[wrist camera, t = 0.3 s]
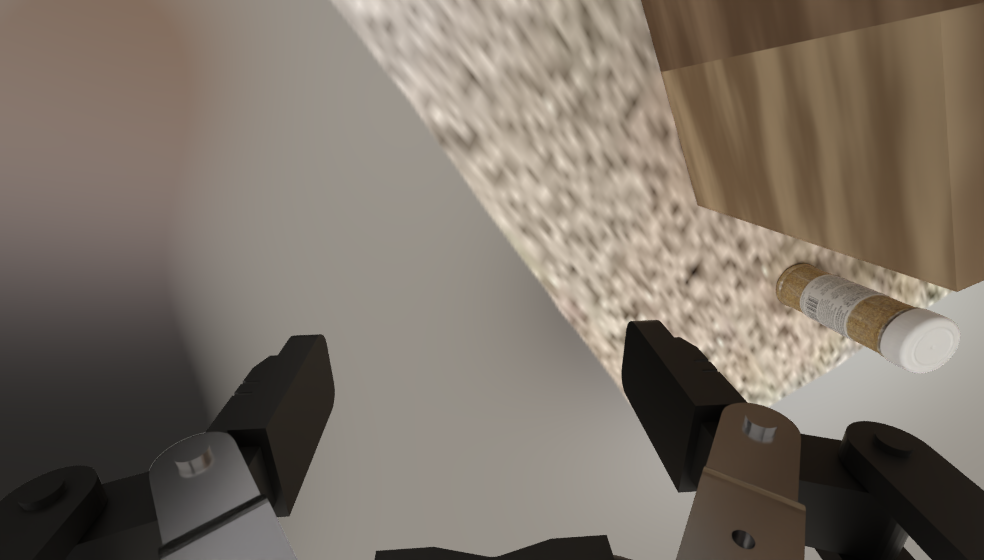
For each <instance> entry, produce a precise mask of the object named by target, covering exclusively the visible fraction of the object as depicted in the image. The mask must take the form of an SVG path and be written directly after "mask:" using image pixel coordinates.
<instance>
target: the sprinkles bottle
mask: <svg viewBox="0 0 984 560" xmlns="http://www.w3.org/2000/svg"><path fill="white" fill-rule="evenodd" d="M776 293H777V297H778V299H779V300H780V301H781V302H782V303H783V304H784V305H786V306H789V307H793V308H795V309H796V310H798V311H800V312H802V313H804V314H805V315H806V316H808V317H809V318H811V319H813V320H815V321H817V322H819V323H821V324H822V325H824V326H826V327H828V328H830V329H832V330H834V331H835V332H837V333H839V334H841V335H843V336H845V337H847V338H849V339H851V340H853V341H856V342H858V343H860V344H862V345H864V346H866V347H868V348H870V349H872V350H874V351H876V352H878V353H879V354H880V355H881V356H883V357H884V358H885V359H886V360H888V361H889V362H891V363H893V364H895V365H897V366H899V367H901V368H903V369H905V370H907V371H909V372H912V373H926V372H930V371H933V370H935V369H937V368H939V367H941V366H942V365H943V364H945V363H946V362H947V361H948V360H949V359H950V358H951V357H952V356H953V354H954V353H955V351H956V349H957V347H958V345H959V342H960V330H959V328H958V326H957V324H956V323H955V322H954V321H952V320H951V319H949V318H947V317H944V316H942V315H940V314H937V313H935V312H932V311H930V310H927V309H921V308H917V307H913V306H910V305H907V304H905V303H902V302H900V301H897V300H895V299H893V298H890V297H889V296H887V295H884V294H882V293H879V292H877V291H874V290H872V289H869V288H867V287H864V286H862V285H859V284H857V283H854V282H851V281H849V280H846V279H844V278H841V277H839V276H836V275H832V274H829V273H826V272H824V271H821V270H819V269H817V268H816V267H814V266H812V265H809V264H798V265H795V266H792V267H790V268H789V269H787V270H786V271H785V272H784V273H783V274H782V276H781V277H780V279H779V280H778V282H777V286H776Z"/></svg>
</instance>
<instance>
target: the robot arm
mask: <svg viewBox="0 0 984 560" xmlns="http://www.w3.org/2000/svg"><path fill="white" fill-rule="evenodd" d="M622 384H623V388H624V392H625V394H626V396H627V398H628V400H629V402H630V404H631V405H632V407H633V409H634V411H635V413H636V415H637V417H638V418H639V420H640V422H641V424H642V426H643V428H644V429H645V431H646V433H647V435H648V437H649V439H650V441H651V443H652V444H653V446H654V448H655V450H656V452H657V454H658V455H659V457H660V459H661V461H662V463H663V465H664V467H665V469H666V471H667V472H668V474H669V476H670V478H671V480H672V481H673V484H674V485H675V487H676V489H677V491H678V492H692V491H696V495H695V498H694V501H693V505H692V508H691V511H690V515H689V518H688V521H687V525H686V528H685V531H684V535H683V538H682V541H681V545H680V548H679V551H678V554H677V558H676V560H804V549H805V546H808V547H813V548H815V549H816V551H817V552H818V554H819V555H820V557H821V558H822V559H823V560H915V559H914V558H913V557H912V556H911V554H910V553H909V552H908V551H907V550H906V549H905V548H904V547H903V546H904V544H905V542H906V539H907V537H908V536H910V537H911V538H912V539H913V540H914V541H915V542H916V543H917V544H918V545H919V546H920V548H921V549H922V550H923V551H924V552H925V553H926V554H927V555H928V556H929V557H930V558H931V559H932V560H984V491H983V490H982V489H981V488H980V487H979V486H977V485H976V484H975V483H973V481H971V480H970V479H969V478H967V477H966V476H965V475H964V474H963V473H961V472H960V471H959V470H958V469H957V468H955V467H954V466H953V465H952V464H951V463H949V462H948V461H947V460H946V459H944V458H943V457H942V456H941V455H940V454H938V453H937V452H936V451H935V450H933V449H932V448H931V447H929V446H928V445H927V444H926V443H924V442H923V441H922V440H920V439H918V438H917V437H915V436H913V435H911V434H909V433H907V432H905V431H903V430H901V429H898V428H895V427H893V426H889V425H886V424H882V423H877V422H869V421H860V422H854V423H852V424H850V425H849V426H848V427H847V429H846V431H845V434H844V437H843V439H842V441H841V440H835V439H829V438H823V437H817V436H811V435H805V434H800V432H799V430H798V428H797V427H796V425H795V424H794V423H793V422H792V421H790V420H789V419H788V418H787V417H785V416H784V415H782V414H781V413H779V412H777V411H775V410H773V409H770V408H768V407H765V406H762V405H758V404H752V403H747V402H746V400H745V399H744V398H743V397H742V396H741V395H740V394H739V393H738V392H737V391H736V389H735V388H734V387H733V386H732V385H731V384H730V383H729V382H728V381H727V380H726V378H725V377H724V376H723V375H722V374H721V373H720V372H717V369H716V367H715V366H714V365H713V364H712V363H711V362H708V359H707V358H706V356H705V355H704V354H703V353H702V352H701V351H700V350H699V349H698V348H697V347H696V346H694V345H692V344H691V343H689V342H687V341H686V340H684V339H682V338H680V337H676V338H674V337H673V336H672V334H671V333H670V332H669V331H668V330H667V329H666V327H665V326H664V325H663V324H662V323H661V322H660V321H659V320H648V321H630V322H629V323H628V325H627V329H626V337H625V346H624V354H623V363H622ZM334 396H335V389H334V381H333V375H332V370H331V365H330V359H329V354H328V348H327V343H326V339H325V337H324V336H323V335H321V334H319V335H297V336H291V337H290V338H289V340H288V341H287V343H286V344H285V346H284V347H283V348H282V350H281V351H280V353H279V354H278V355H277V356H269V357H268V358H266V359H265V360H263V361H262V362H261V363H259V364H258V365H256V366H255V367H254V368H253V369H252V370H251V371H250V373H249V374H248V375H247V377H246V378H245V379H244V381H243V384H241V385H240V386H239V388H238V389H237V390H236V391H235V395H234V396H232V397H231V398H230V400H229V401H228V402H227V404H226V405H225V406H224V408H223V409H222V410H221V412H220V413H219V414H218V416H217V417H216V419H215V420H214V421H213V422H212V424H211V425H210V427H209V428H208V429H207V430H206V432H205V433H201V434H197V435H194V436H191V437H189V438H186V439H184V440H182V441H179V442H178V443H176V444H174V445H172V446H171V447H169V448H168V449H167V450H165V451H164V452H163V453H162V454H161V455H160V456H159V457H158V458H157V459H156V460H155V461H154V462H153V464H152V466H151V468H150V470H149V471H148V472H144V473H141V474H137V475H133V476H129V477H126V478H122V479H118V480H115V481H111V482H108V483H104V484H102V483H101V481H100V479H99V477H98V474H97V472H96V471H95V469H93V468H92V467H89V466H84V465H76V466H68V467H64V468H59V469H56V470H53V471H50V472H47V473H45V474H42V475H40V476H38V477H36V478H34V479H32V480H30V481H28V482H26V483H24V484H23V485H21V486H20V487H18V488H16V489H15V490H13V491H12V492H11V493H9V494H8V495H6V496H5V497H4V498H3V499H2V500H1V501H0V560H297V558H296V556H295V554H294V551H293V549H292V548H291V546H290V543H289V541H288V539H287V537H286V535H285V533H284V531H283V529H282V527H281V525H280V523H279V521H278V519H277V517H286V516H290V513H291V511H292V508H293V506H294V503H295V501H296V498H297V496H298V493H299V491H300V488H301V486H302V483H303V481H304V478H305V476H306V473H307V471H308V468H309V466H310V463H311V461H312V458H313V456H314V453H315V451H316V448H317V446H318V443H319V441H320V438H321V436H322V433H323V431H324V428H325V426H326V423H327V421H328V418H329V416H330V413H331V411H332V408H333V404H334ZM375 560H631V559H628V558H624V557H621V556H616V555H613V553H612V550H611V548H610V544H609V541H608V538H607V535H600V536H584V537H570V538H556V539H549V540H546V541H543V542H540V543H537V544H534V545H531V546H528V547H525V548H522V549H519V550H516V551H513V552H510V553H507V554H504V555H501V556H498V557H486V556H481V555H475V554H469V553H464V552H458V551H453V550H448V549H442V548H437V547H426V548H412V549H398V550H383V551H376V555H375Z"/></svg>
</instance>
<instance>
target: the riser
mask: <svg viewBox="0 0 984 560" xmlns="http://www.w3.org/2000/svg"><path fill="white" fill-rule="evenodd" d="M641 1H642V5H643V8H644V12H645V16H646V19H647V23H648V26H649V30H650V34H651V37H652V41H653V45H654V48H655V52H656V55H657V59H658V63H659V66H660V70H661V74H662V77H663V81H664V84H665V88H666V92H667V95H668V99H669V103H670V106H671V110H672V114H673V117H674V121H675V124H676V128H677V132H678V135H679V139H680V143H681V146H682V150H683V153H684V157H685V161H686V164H687V168H688V172H689V175H690V179H691V182H692V186H693V190H694V193H695V197H696V201H697V204H698V205H699V206H702V207H705V208H708V209H711V210H714V211H717V212H720V213H723V214H726V215H729V216H732V217H735V218H738V219H740V220H743V221H746V222H749V223H752V224H755V225H758V226H761V227H764V228H767V229H770V230H773V231H776V232H779V233H782V234H785V235H788V236H791V237H794V238H797V239H800V240H803V241H806V242H809V243H812V244H815V245H818V246H821V247H824V248H827V249H830V250H833V251H836V252H839V253H842V254H845V255H848V256H851V257H854V258H857V259H860V260H863V261H866V262H869V263H872V264H875V265H878V266H881V267H884V268H887V269H890V270H893V271H896V272H899V273H902V274H905V275H908V276H911V277H914V278H917V279H920V280H923V281H926V282H929V283H932V284H935V285H938V286H941V287H944V288H947V289H950V290H953V291H956V292H958V291H960V290H962V289H965V288H967V287H969V286H972V285H974V284H976V283H979V282H981V281H983V280H984V0H641Z"/></svg>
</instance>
